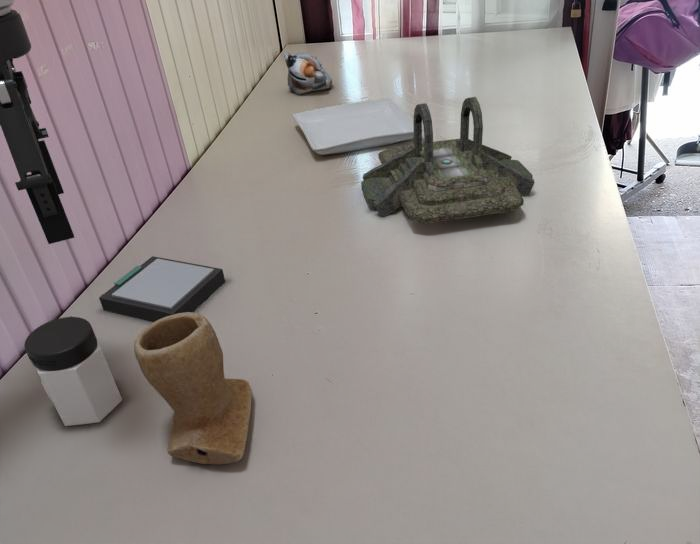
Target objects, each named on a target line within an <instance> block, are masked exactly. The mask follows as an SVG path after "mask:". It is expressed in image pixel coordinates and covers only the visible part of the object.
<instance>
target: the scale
mask: <svg viewBox="0 0 700 544" xmlns="http://www.w3.org/2000/svg"><path fill="white" fill-rule="evenodd" d="M225 282H226V279H225V275H224V270H223V268H219V267H214V266H208V265H202V264H197V263H192V262H187V261H182V260H175V259H169V258H164V257H159V256H154V255H153V256H151V257H149V258H148V259H147V260H145V261H144V262H143V263H142V264H140V265H136V266H135V267H133V268H132V269H131V270H129V271H128V272H127V273H125V274H124V275H123V276H121V277H120V278H119V279H118V280H116V281H115V282H114V283H113V284H114V285H113V286H112V287H111V288H109V289H108V290H107V291H106V292H104V293H103V294H102V295H100V296H98V299H99V302H100V304H101V307H102V310H103V311H105V312H110V313H114V314H118V315H123V316H127V317H132V318H137V319H141V320H144V321H149V322H152V323H154V322H155V321H157V320H159V319H161V318H164V317H167V316H170V315H174V314H178V313H185V312H193V313H194V311H195V310H197V308H199V307H200V306H201V305H202V304H203V303H204V302H205V301H206V300H207V299H208V298H209V297H210V296H212V295H213V293H215V292H216V291H217V290H218V289H219V288H220V287H221V286H222V285H223V284H224V283H225Z"/></svg>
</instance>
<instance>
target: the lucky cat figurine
mask: <svg viewBox="0 0 700 544" xmlns="http://www.w3.org/2000/svg"><path fill="white" fill-rule="evenodd" d="M283 57H284V62H285V64H286V67H287V71H288V72H287V86H288V88H289V90H290V92H291V93H294V94H296V95H303V94H306V93H310V92H316V91H323V90H331V89H332V84H333V79H332V77H331V75H330V74H329V73H328V72H327V71H326V70H325V68H324V67H323V65H322V63H321V62H320V61H319V60H318V58H317V56H316V55H313V56H312V55H311V54H309V53H306V52H297V53H295V54H293V55H291V54H290V52H286V53H285V54H284V55H283Z"/></svg>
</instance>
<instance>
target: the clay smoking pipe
mask: <svg viewBox="0 0 700 544" xmlns="http://www.w3.org/2000/svg"><path fill="white" fill-rule="evenodd" d="M133 349H134V350H133V351H134V357H135V359H136V361H137V364H138V366H139V368H140V371H141V373H142V374H143V377H144V378H145V380H146V381H147V382H148V383H149V384H150V386H152V388H153V389H154V390H155V391H156V392H157V393H158V394H159V395H160V396H161V397H162V398H163V400H164V401H165V402H166V403H167V404H168V406H169V407H170V408H171V409H172V412H173V417H172V422H171V429H170V436H169V441H168V445H167V454H168V455H169V456H171V457H175V458H178V459H181V460H184V461H187V462H193V463H198V464H200V465H201V464H202V465H207V464H210V465H225V464H226V465H228V464H232V463H236V462H239V461H240V460H241V459H243V457H244V454H245V450H246V444H247V441H248V433H249V425H250V419H251V413H252V397H253V396H252V395H253V394H252V393H253V392H252V387H251V385H250V382H249V381H247V380H245V379H242V378H241V379H240V378H225V370H224V352H223V349H222V347H221V344H220V341H219V338H218V336H217V333H216V331H215V329H214V327H213V325H212V323H211V322H210V320H208V318H207V317H206V316H204V315H203V314H200V313H197V312H194V311H193V312H185V313H178V314H174V315H170V316H167V317H164V318H161V319H159V320H157V321H155V322H152V323H150V324H149V325H147V326H146V327H145V328H143V329H142V330H141V331H140V332H139V333H138V334H137V336H136V339H135V341H134V346H133Z"/></svg>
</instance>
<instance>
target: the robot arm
mask: <svg viewBox="0 0 700 544" xmlns="http://www.w3.org/2000/svg"><path fill="white" fill-rule="evenodd" d="M14 3H15V0H0V128H1V130H2V133H3V137H4V138H5V139H4V140H5V142H6V144H7V147H8V149H9V152H10V155H11V158H12V160H13V162H14V165H15V168H16V171H17V173H18V177H19V181H16V182H14V184H15V187H16V189H17V191H23V190H25V191H26V194H27V196H28V197H29V200H30V202H31V206H32V208H33V210H34V213H35V215H36V217H37V219H38V223H39V224H40V227H41V229H42V231H43V234H44V236H45V239H46V241H47V244H48V245H51V244H55V243H59V242H63V241H67V240H72V239H74V238H75V234H74V231H73V228H72V226H71V224H70V221H69V218H68V216H67V213H66V210H65V209H64V206H63V203H62V201H61V198H60V195H63V194H65V192H64V191H65V190H64V189H63V186H62V183H61V180H60V178H59V176H58V172H57V170H56V168H55V165H54V162H53V159H52V157H51V154H50V152H49V149H48V147H47V144H46V142H45V140H44V139H46V138H49V137H50V136H49V133H48V131H47V128H46V127H42V128H40V123H39V121H38V120H37V118H36V116H35V113H34V111H33V109H32V106H31V104H32V100H31V97H30V94H29V90H28V84H27V82H26V78H25V75H24V73H23V71H22V70H19V71H17V70H16V67H15V65H14V59H15V60H16V59H19V58H21V57H24V56H25V55H27V54H29V53H30V51H31V49H32V43H31V41H30V38H29V36H28V32H27V29H26V26H25V24H24V21H23V19H22V15H21V14H20V13H19V12H18V11H17V10H15V9H11V6H13V5H14ZM42 139H43V140H42ZM28 173H30V174H28Z"/></svg>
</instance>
